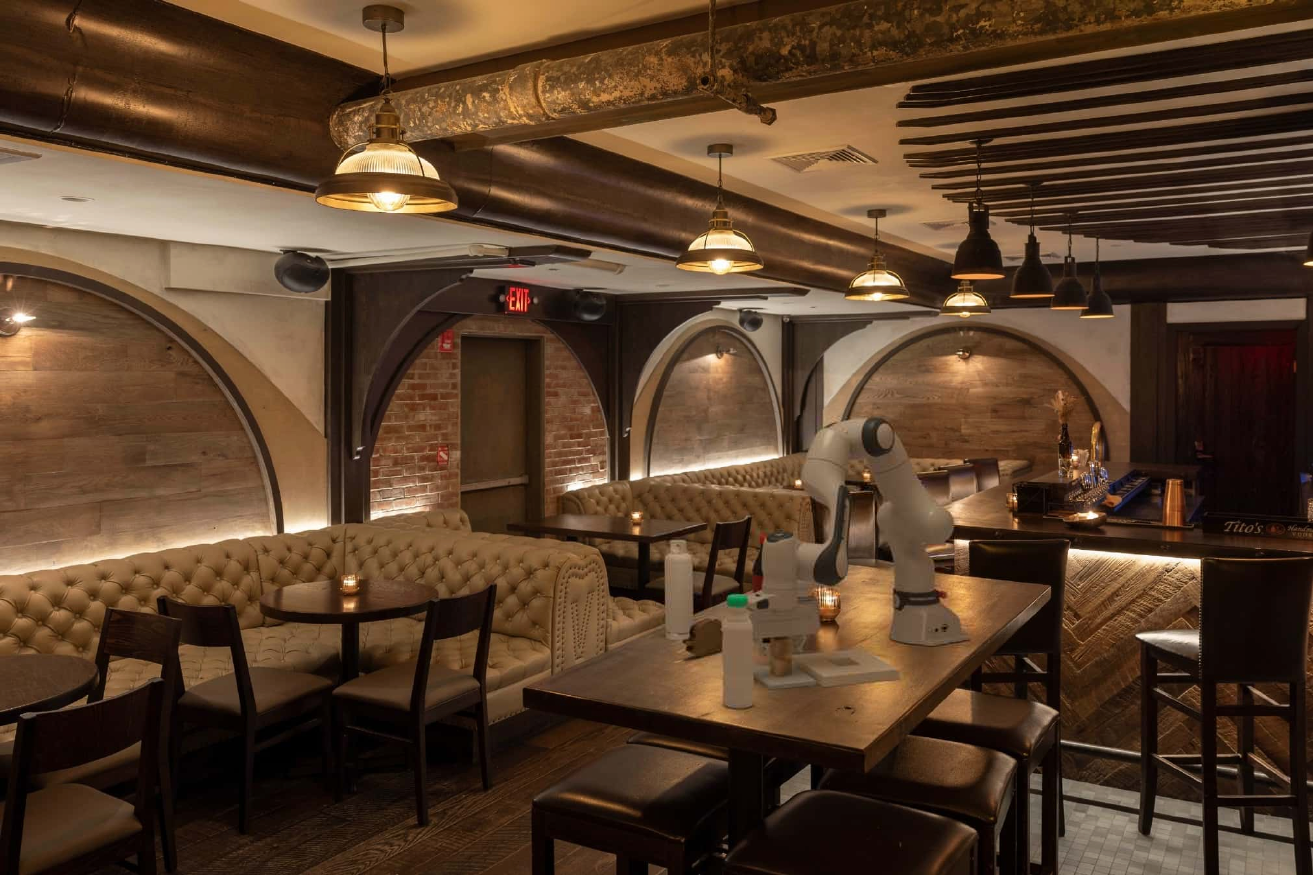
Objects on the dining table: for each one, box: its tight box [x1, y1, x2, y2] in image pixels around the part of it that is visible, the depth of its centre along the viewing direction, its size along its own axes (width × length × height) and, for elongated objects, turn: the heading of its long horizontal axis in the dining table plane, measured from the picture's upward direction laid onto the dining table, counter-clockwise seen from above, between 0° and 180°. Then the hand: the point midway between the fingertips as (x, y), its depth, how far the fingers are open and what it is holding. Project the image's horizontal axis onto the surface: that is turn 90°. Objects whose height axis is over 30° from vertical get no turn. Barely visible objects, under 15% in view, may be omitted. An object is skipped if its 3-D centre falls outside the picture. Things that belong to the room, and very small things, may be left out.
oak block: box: [769, 636, 793, 677], centre depth 241 cm, size 4×4×9 cm
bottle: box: [664, 539, 694, 641], centre depth 283 cm, size 8×8×28 cm
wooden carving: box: [681, 618, 723, 658], centre depth 263 cm, size 16×5×10 cm, turn 138°
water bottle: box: [721, 593, 755, 710], centre depth 221 cm, size 7×7×25 cm
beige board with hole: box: [792, 648, 900, 688], centre depth 246 cm, size 20×20×2 cm
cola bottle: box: [751, 534, 770, 643], centre depth 278 cm, size 8×8×30 cm
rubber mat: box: [753, 664, 818, 691], centre depth 241 cm, size 12×16×1 cm
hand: (780, 653), depth 241 cm, fingers open, 8 cm apart
